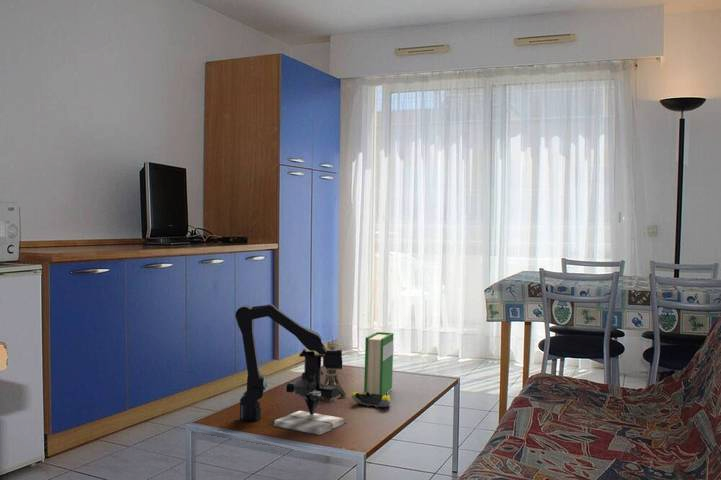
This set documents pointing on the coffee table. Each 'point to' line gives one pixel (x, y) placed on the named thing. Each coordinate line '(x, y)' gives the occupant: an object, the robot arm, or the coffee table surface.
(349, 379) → the coffee table surface
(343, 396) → the eiffel tower
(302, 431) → the underlay mat
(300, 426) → the plank
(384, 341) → the hardback book
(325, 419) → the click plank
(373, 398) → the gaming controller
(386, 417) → the coffee table surface
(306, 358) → the robot arm
